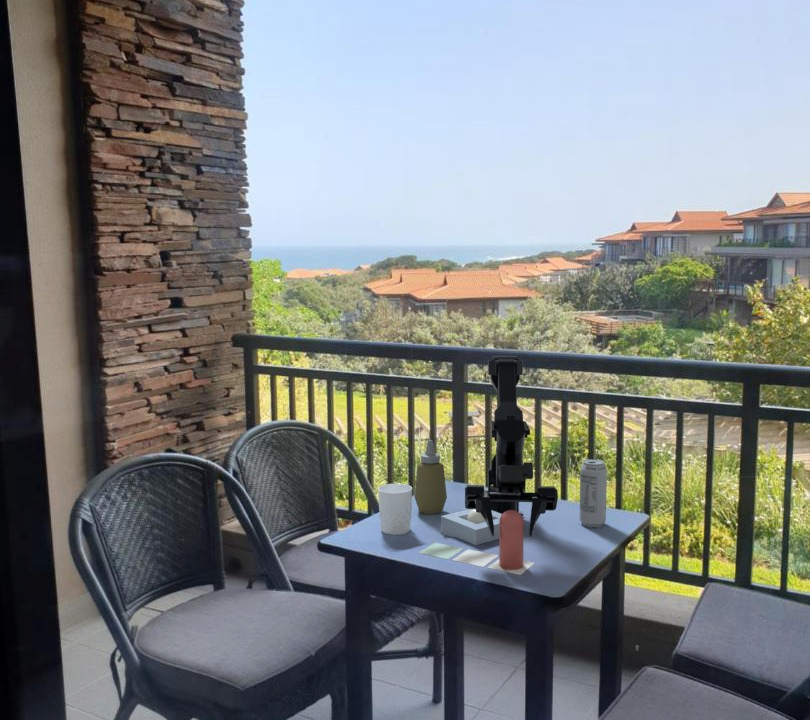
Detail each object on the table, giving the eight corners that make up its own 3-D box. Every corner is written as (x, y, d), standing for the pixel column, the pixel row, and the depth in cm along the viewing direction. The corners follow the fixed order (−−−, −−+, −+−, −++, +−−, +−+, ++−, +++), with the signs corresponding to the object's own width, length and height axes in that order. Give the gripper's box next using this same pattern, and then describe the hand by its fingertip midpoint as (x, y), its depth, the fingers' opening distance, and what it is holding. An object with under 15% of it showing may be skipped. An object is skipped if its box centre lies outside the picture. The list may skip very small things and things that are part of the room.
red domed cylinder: (511, 559, 164) (511, 505, 163) (528, 566, 160) (528, 511, 159) (494, 564, 161) (494, 509, 160) (510, 571, 157) (511, 515, 156)
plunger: (479, 527, 184) (479, 504, 183) (493, 532, 180) (494, 509, 179) (462, 531, 181) (462, 508, 180) (477, 537, 177) (477, 513, 176)
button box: (480, 522, 189) (480, 506, 188) (516, 536, 179) (516, 518, 179) (441, 533, 182) (441, 516, 181) (475, 547, 172) (475, 529, 172)
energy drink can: (611, 525, 186) (612, 463, 184) (590, 529, 183) (591, 466, 181) (594, 518, 191) (595, 457, 189) (574, 522, 188) (575, 460, 187)
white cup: (409, 536, 179) (408, 493, 178) (375, 534, 181) (374, 492, 180) (415, 525, 187) (415, 484, 186) (383, 523, 189) (382, 482, 188)
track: (539, 565, 162) (539, 562, 162) (523, 579, 155) (523, 576, 155) (433, 543, 175) (433, 541, 175) (413, 555, 168) (413, 553, 168)
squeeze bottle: (407, 510, 198) (407, 440, 196) (432, 504, 203) (432, 435, 201) (428, 518, 192) (427, 445, 190) (453, 512, 197) (453, 440, 195)
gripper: (465, 446, 162) (464, 516, 153) (557, 447, 161) (562, 518, 151) (465, 474, 171) (464, 541, 162) (553, 475, 170) (557, 543, 160)
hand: (511, 535), depth 158 cm, fingers open, 7 cm apart
